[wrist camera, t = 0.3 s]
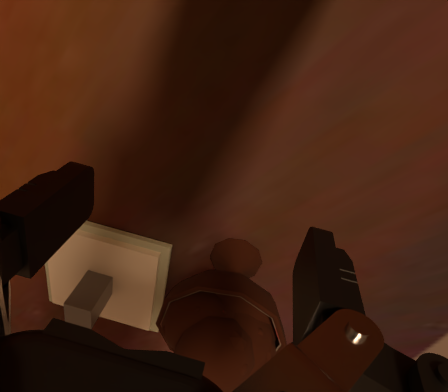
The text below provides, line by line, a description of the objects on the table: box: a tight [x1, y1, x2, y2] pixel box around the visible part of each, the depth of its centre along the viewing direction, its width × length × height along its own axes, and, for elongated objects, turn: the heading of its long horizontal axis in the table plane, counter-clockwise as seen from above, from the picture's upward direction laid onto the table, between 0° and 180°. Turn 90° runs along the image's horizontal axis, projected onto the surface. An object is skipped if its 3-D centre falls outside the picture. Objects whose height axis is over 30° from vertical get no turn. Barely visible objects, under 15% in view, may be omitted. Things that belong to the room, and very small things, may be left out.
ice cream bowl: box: [155, 238, 287, 392], centre depth 30 cm, size 11×11×15 cm
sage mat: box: [45, 221, 172, 332], centre depth 41 cm, size 15×15×1 cm
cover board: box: [48, 229, 161, 331], centre depth 39 cm, size 13×13×6 cm
